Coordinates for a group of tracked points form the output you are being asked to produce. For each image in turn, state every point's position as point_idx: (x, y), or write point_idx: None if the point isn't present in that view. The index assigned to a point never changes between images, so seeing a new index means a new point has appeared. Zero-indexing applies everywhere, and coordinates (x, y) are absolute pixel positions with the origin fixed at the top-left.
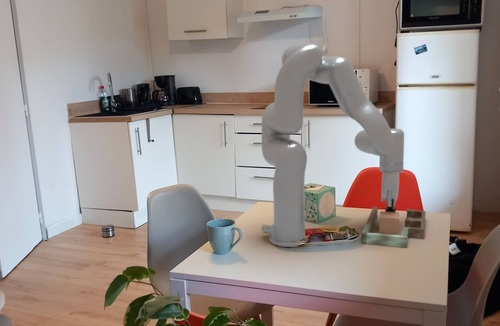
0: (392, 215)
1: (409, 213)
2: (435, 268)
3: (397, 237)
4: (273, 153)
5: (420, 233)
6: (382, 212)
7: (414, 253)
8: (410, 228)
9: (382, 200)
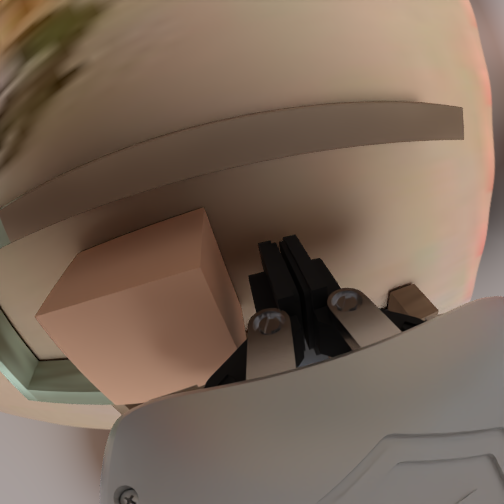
0: (146, 374)
1: None
2: (20, 410)
3: (9, 378)
4: None
5: None
6: (170, 299)
7: None
8: (116, 408)
9: (112, 434)
